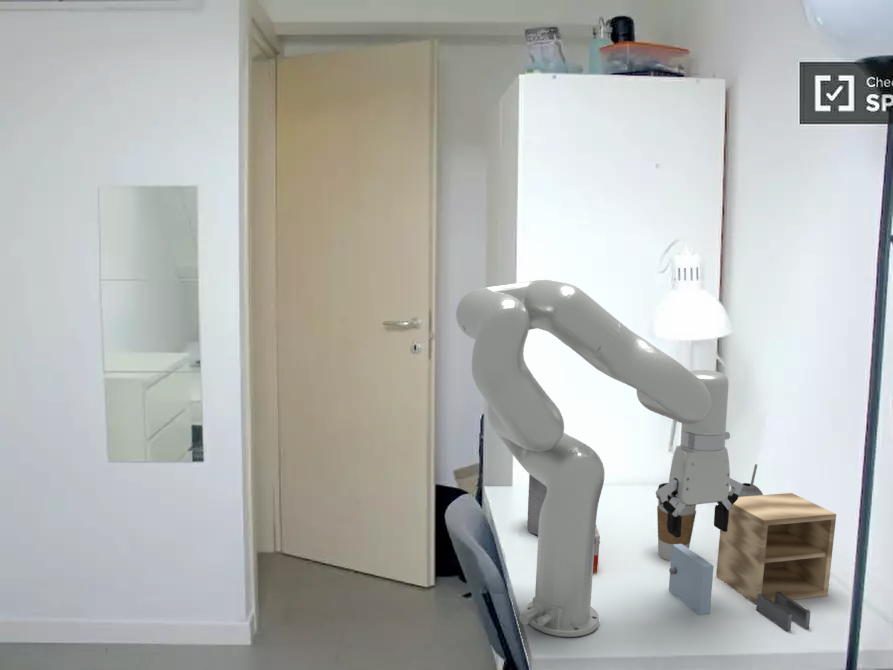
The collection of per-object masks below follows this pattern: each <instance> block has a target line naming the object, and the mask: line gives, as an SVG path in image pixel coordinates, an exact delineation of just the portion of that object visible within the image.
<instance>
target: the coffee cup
mask: <svg viewBox="0 0 893 670" xmlns="http://www.w3.org/2000/svg"><path fill="white" fill-rule="evenodd" d="M668 483H669V482H663V483H660V484H659V485H658V488H657V490H658V489H660V488H661V487H663V486H664V485H666V484H668ZM656 498H657V495H656ZM667 498H668V501H670V500H671V498H672V497H670V496H669V495H668V496H667ZM657 504H658V505H657V507H656V509H657V510H656V511H657V514H656V515H657V538H658V539H657V541H658V542H657V544H658V545H657V551H658V552H657V553H658V556H659V557H660V558H661V557H662V558H661V559H663V558H664V560H666V559H667V560H666V561H669V560H671V554H672V545H673V544H683V545H684V546H686V547H687V548H689V549H690V545H691V541H692V535H693V530H694V526H695V519H696V514H697V510H696V508H697V504H696V505H686V506H685V507H684V508H683V510H682V511H681V512H680V514H679V515H680V516H681V517H682V522H681V536H680V537H679V538H676V537H675V536H673V535H672V534H670V533H669V532H668V529H667V518H668V512H667V511H666V510H665V509H664V508H663V507H662V506H661V505H660V501H659V500H658V499H657ZM677 504H678V503H677ZM677 504H676V505H677ZM676 505H675V506H676ZM674 508H675V507H674Z"/></svg>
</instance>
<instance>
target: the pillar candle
mask: <svg viewBox="0 0 893 670" xmlns="http://www.w3.org/2000/svg"><path fill="white" fill-rule="evenodd" d="M528 475H529V476H528V496H527V497H528V501H527V504H528V505H527V523H526V524H527V525H526V527H527V531H528V532H529V533H531V534H533V535H536V536H538V533H539V531H538V529H539V516H540V511H541V507H542V504H543V502H544V499H545V497H546V493H547V487H546V486H545V485H543V484H542V483H541V482H539V481H538V480H537V479H535V478H534V477H533V476H531V475H530V474H529V473H528Z"/></svg>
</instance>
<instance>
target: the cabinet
mask: <svg viewBox="0 0 893 670" xmlns="http://www.w3.org/2000/svg"><path fill="white" fill-rule="evenodd" d="M732 506H733V508H732V509H731V510H729V520H728V529H727V532H723V531H722V530H720V529H719V539H718V551H717V552H718V553H717V561H716V562H717V563H716V574H715V577H716V578H717V579H719V580H720V579H721V580H720V581H722V582H723V581H724V582H723V583H725V584H726V583H727V584H726V585H728V586H729V587H730V586H731V588H732V589H733V590H735V591H736V592H738V593H739V594H740V595H741V596H743V597H745V598H747V599H748V600H749V601H751V602H752V603H753V604H754V605H757V596H758V594H763V595H764V596H766V597H767V598H769V599H770V600H772V601H773V602H774V601H775V592H781V593H782V594H784V595H785V596H787V597H788V598H790V599H791V600H793V601H794V600H802V599H811V598H819V597H826V596H829V585H830V579H831V577H830V576H831V569H832V559H833V558H832V557H833V550H834V538H835V533H836V532H835V530H836V523H837V521H836V520H837V513H835V512H833V511H830V510H829V509H827V508H824V507H822V506H820V505H818V504H816V503H814V502H812V501H810V500H808V499H805V498H803V497H801V496H800V495H796V494H795V493H793V492H788V493H787V492H786V493H785V492H784V493H772V494H763V495H758V496H745V497H738V499H737V501H736V502H735V503H734V504H733V505H732Z"/></svg>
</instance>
